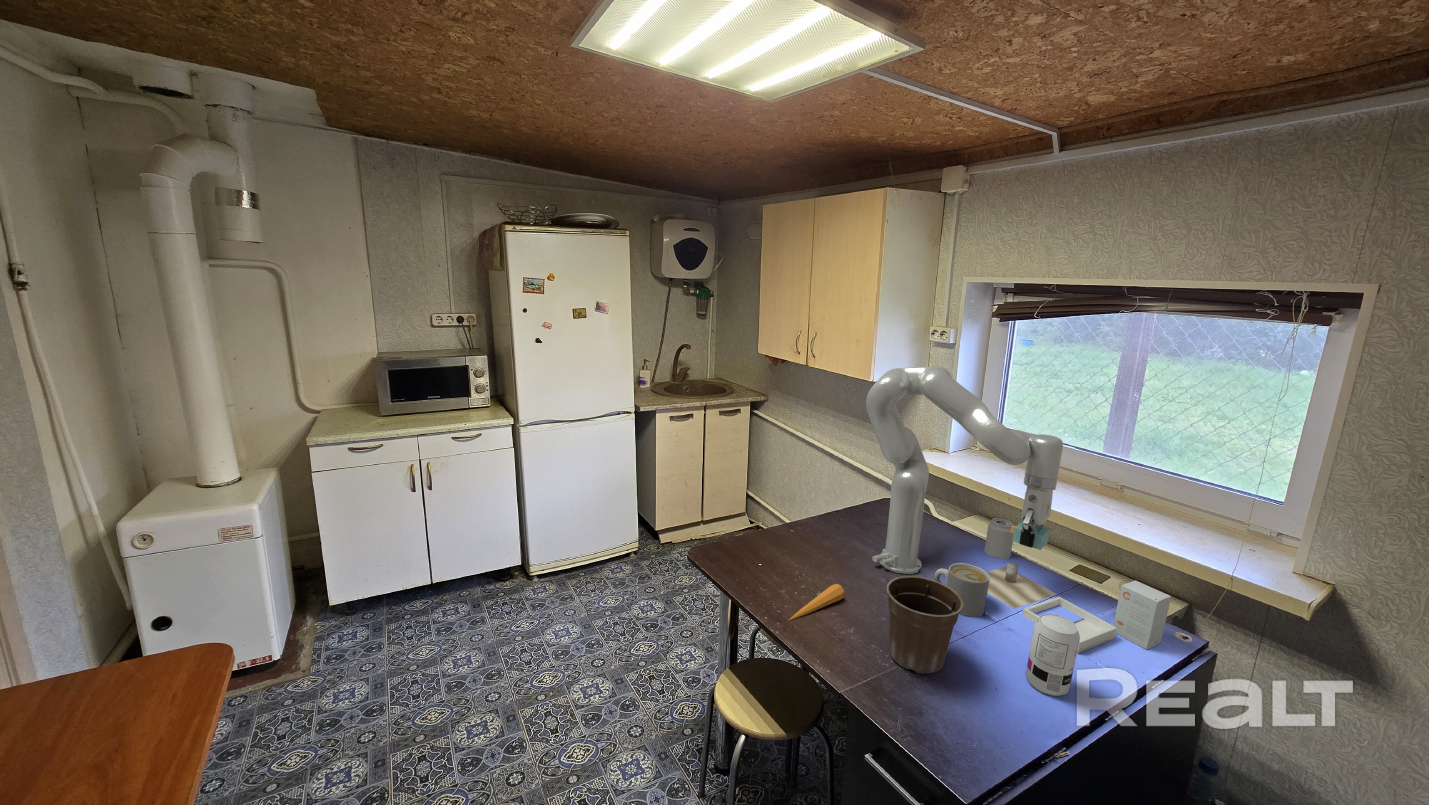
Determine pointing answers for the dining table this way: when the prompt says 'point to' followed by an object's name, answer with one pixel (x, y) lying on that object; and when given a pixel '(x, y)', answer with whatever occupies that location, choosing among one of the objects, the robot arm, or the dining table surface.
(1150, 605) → the small box
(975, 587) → the coffee mug
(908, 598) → the plant pot
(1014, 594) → the stake base
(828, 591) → the carrot
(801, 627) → the dining table surface
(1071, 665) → the supplement can
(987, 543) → the can
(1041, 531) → the collar
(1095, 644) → the tray
